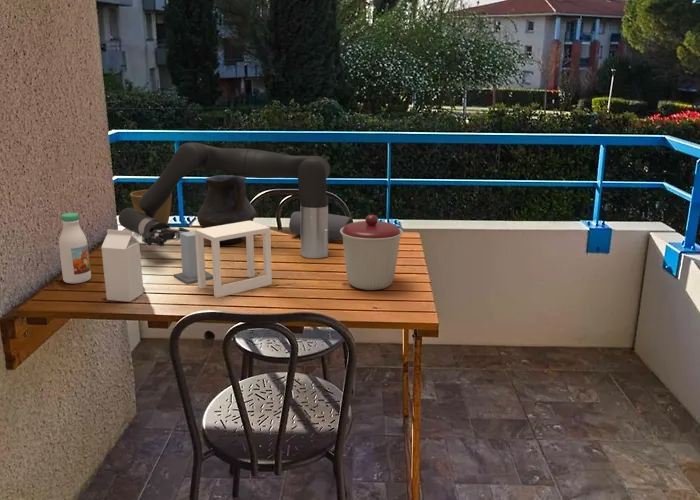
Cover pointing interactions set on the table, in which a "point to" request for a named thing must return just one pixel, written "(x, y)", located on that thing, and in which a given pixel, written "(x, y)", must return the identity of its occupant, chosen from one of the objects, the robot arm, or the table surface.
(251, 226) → the rack
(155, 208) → the robot arm
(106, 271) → the milk carton
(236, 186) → the pitcher
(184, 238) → the blank
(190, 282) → the mat
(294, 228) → the bluetooth speaker
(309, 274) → the table surface
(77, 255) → the milk bottle
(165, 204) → the plant pot
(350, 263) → the canister
